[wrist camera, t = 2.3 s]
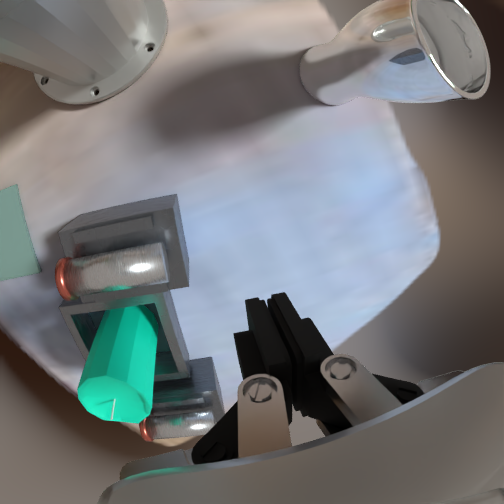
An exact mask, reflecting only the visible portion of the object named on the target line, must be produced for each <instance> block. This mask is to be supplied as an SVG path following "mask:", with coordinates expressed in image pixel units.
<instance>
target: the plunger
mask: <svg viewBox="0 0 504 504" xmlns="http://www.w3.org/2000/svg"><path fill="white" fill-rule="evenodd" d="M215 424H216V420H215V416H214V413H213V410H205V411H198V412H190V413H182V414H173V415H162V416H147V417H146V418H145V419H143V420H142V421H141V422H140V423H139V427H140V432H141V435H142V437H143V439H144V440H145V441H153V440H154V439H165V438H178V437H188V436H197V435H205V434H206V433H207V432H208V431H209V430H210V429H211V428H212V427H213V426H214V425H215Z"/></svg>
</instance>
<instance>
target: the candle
mask: <svg viewBox="0 0 504 504" xmlns="http://www.w3.org/2000/svg"><path fill="white" fill-rule="evenodd" d="M158 328H159V325H158V323H157V320H156V318H155V315H154V313H152V312H151V311H150V310H149V309H148V308H147V307H145V306H144V305H138V306H131V307H124V308H117V309H110V310H106V311H105V312H104V315H103V317H102V320H101V322H100V325H99V328H98V330H97V333H96V336H95V338H94V341H93V344H92V346H91V349H90V352H89V355H88V358H87V361H86V364H85V367H84V370H83V373H82V376H81V379H80V382H79V386H78V389H77V390H78V398H79V400H80V402H81V403H82V404H83V406H84V407H85V408H86V409H87V411H88V412H90V413H92V414H93V415H96V416H97V417H99V418H101V419H103V420H110V421H122V422H130V423H140V422H141V421H142V420H143V419H145V418H146V417H147V416H149V415H150V412H151V409H152V399H153V383H154V370H155V358H156V347H157V337H158Z"/></svg>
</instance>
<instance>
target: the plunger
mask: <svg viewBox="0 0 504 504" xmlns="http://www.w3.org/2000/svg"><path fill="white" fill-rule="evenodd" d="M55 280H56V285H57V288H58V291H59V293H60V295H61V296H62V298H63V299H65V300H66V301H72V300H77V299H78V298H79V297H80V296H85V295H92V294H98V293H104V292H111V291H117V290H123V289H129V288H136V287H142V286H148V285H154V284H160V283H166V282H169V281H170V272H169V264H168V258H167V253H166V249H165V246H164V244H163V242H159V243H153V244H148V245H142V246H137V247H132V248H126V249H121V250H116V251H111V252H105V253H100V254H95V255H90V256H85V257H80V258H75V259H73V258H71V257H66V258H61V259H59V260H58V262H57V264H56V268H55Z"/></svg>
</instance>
